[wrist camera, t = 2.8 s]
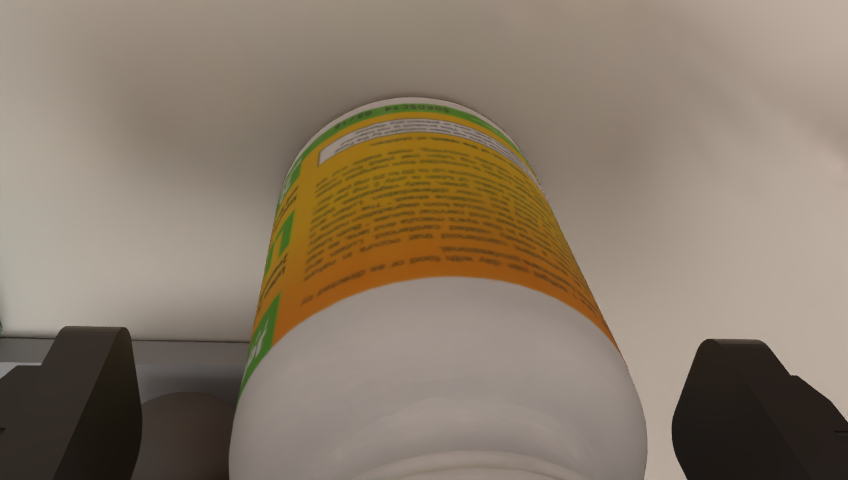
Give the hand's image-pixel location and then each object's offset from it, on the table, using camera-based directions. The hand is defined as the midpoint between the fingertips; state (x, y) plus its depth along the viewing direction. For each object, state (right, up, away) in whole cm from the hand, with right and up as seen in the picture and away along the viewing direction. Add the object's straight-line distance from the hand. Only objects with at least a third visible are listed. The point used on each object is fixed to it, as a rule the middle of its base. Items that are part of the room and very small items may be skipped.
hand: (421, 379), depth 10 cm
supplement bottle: (0, +3, +5) cm, 6 cm away
